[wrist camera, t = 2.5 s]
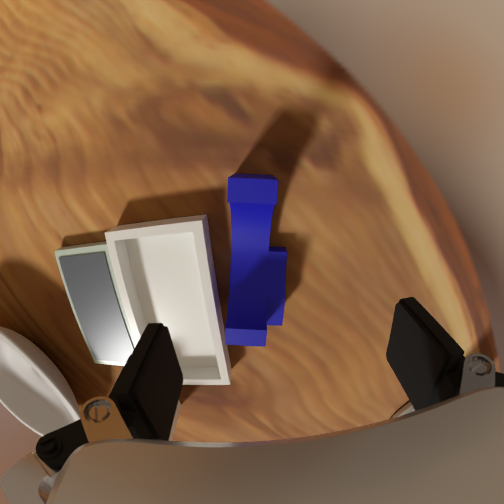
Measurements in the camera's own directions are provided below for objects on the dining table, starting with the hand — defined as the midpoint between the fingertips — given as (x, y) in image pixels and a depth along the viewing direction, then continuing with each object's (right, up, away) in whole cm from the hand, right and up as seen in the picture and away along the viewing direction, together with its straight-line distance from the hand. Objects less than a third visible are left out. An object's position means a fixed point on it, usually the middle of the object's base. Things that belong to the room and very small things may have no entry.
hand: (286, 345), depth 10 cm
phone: (-17, -2, +16) cm, 23 cm away
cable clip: (-1, +4, +14) cm, 14 cm away
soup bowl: (-34, -14, +20) cm, 42 cm away
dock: (-9, -1, +15) cm, 18 cm away
